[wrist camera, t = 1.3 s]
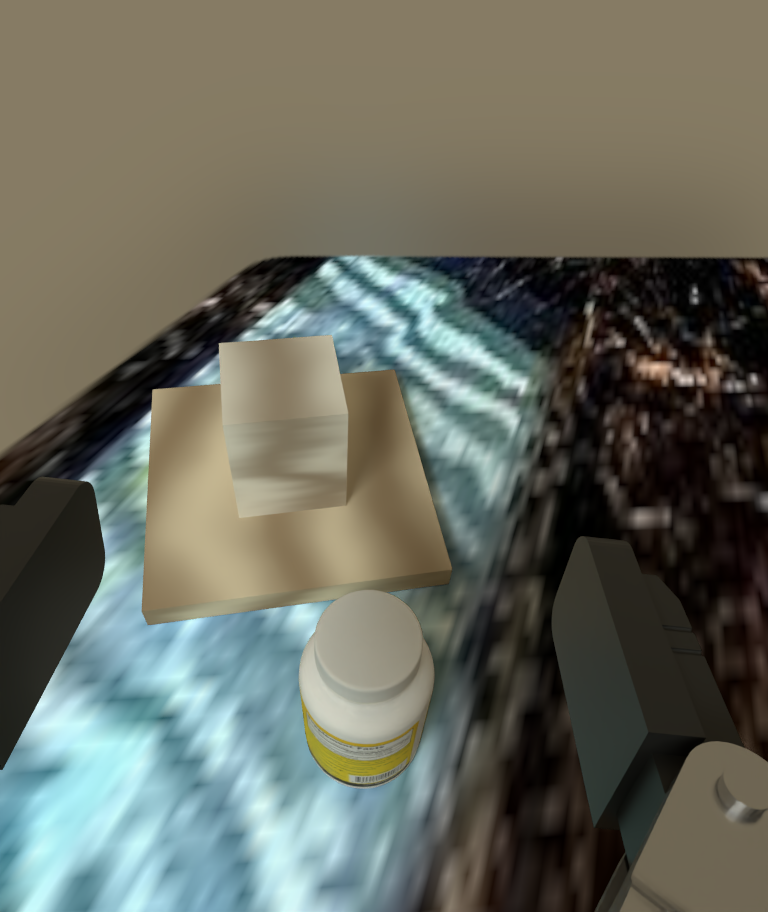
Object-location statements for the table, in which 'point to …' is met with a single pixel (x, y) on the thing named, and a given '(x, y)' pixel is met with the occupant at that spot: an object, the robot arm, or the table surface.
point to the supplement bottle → (365, 688)
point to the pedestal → (284, 487)
